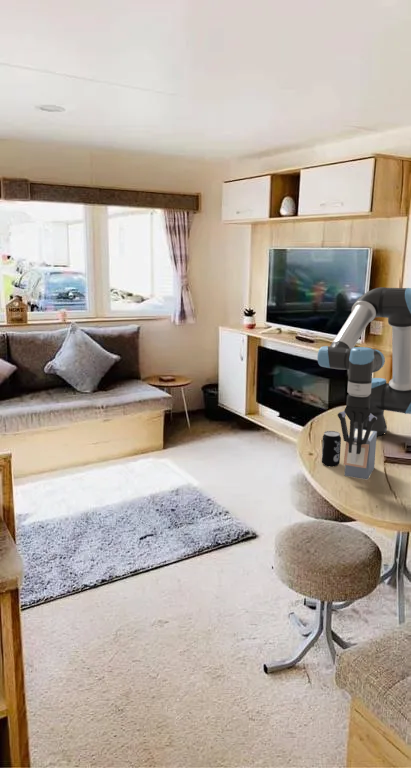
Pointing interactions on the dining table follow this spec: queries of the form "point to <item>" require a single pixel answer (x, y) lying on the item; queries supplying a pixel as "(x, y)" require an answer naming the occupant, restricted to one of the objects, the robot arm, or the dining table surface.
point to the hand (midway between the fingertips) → (353, 462)
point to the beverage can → (331, 448)
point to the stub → (360, 457)
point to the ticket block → (366, 472)
